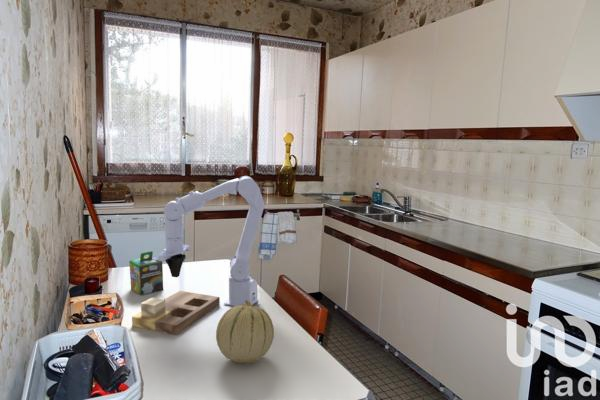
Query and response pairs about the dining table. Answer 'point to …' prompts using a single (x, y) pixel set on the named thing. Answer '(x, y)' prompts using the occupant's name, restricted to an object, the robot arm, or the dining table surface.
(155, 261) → the chalk box
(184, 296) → the board
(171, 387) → the dining table surface
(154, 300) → the maple block
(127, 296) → the dining table surface
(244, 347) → the cantaloupe
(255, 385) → the dining table surface
